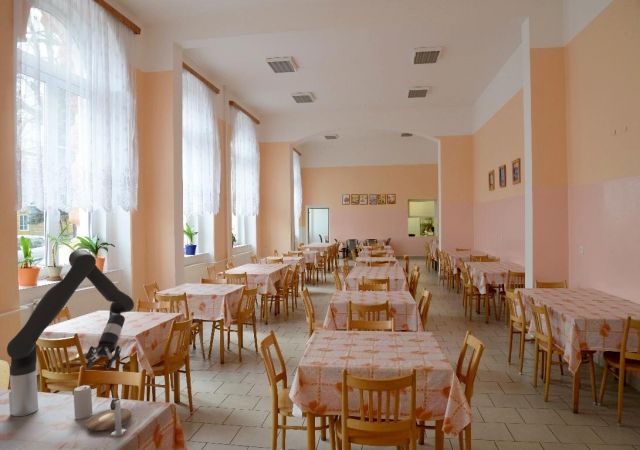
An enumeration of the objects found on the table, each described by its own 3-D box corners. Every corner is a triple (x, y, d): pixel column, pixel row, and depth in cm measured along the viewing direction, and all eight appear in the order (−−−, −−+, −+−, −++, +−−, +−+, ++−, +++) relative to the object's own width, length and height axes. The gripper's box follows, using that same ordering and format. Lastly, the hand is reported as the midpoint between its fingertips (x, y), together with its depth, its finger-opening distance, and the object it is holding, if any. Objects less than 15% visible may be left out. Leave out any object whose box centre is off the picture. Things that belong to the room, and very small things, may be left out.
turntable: (77, 430, 163) (77, 427, 163) (101, 411, 179) (101, 408, 179) (118, 430, 162) (118, 427, 162) (138, 410, 178) (138, 408, 178)
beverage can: (84, 420, 174) (83, 391, 174) (71, 419, 176) (69, 390, 176) (96, 413, 181) (94, 384, 180) (82, 412, 182) (81, 384, 182)
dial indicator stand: (110, 437, 160) (108, 402, 160) (117, 430, 165) (115, 396, 165) (121, 436, 160) (119, 402, 160) (127, 430, 165) (126, 396, 164)
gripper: (92, 331, 198) (78, 365, 187) (122, 331, 197) (109, 364, 186) (99, 339, 204) (86, 372, 193) (128, 339, 203) (116, 372, 192)
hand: (97, 368), depth 189 cm, fingers open, 8 cm apart
